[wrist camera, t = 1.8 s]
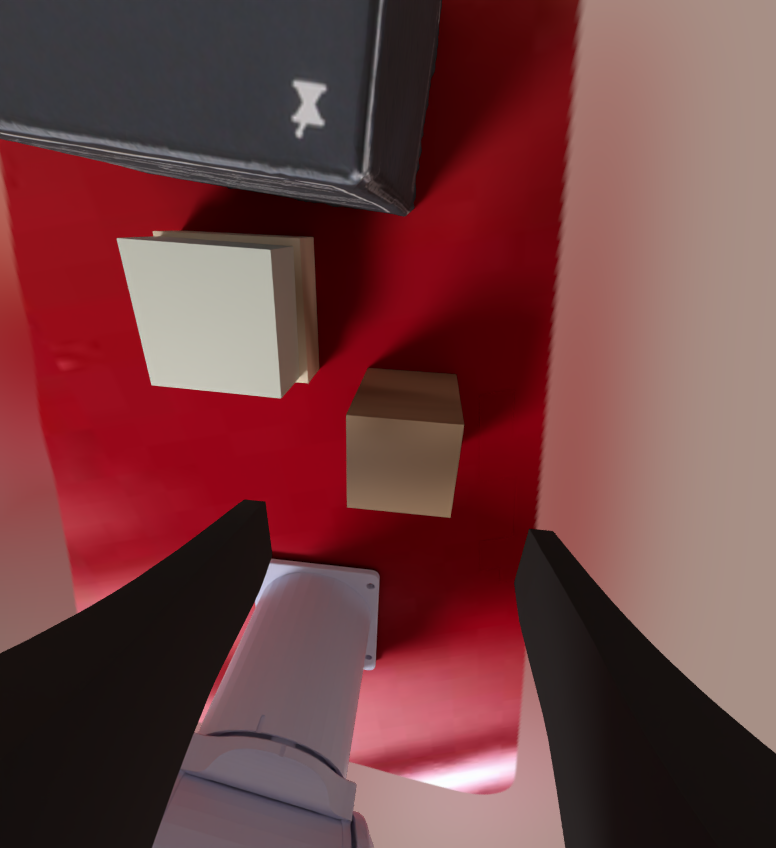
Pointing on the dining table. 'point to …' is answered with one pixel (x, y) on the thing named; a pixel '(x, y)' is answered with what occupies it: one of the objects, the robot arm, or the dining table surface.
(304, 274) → the tower base
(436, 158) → the dining table surface
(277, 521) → the dining table surface
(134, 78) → the small box
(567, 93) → the dining table surface
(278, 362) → the tower top
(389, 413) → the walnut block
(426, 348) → the dining table surface
